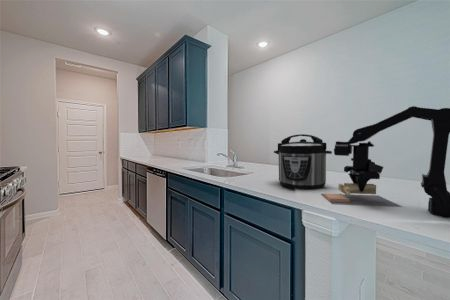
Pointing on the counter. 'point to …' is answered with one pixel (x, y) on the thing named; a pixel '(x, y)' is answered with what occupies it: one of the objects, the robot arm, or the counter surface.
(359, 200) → the charcoal mat
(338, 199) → the terracotta tile
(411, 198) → the counter surface
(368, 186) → the beech scraper
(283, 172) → the pressure cooker
